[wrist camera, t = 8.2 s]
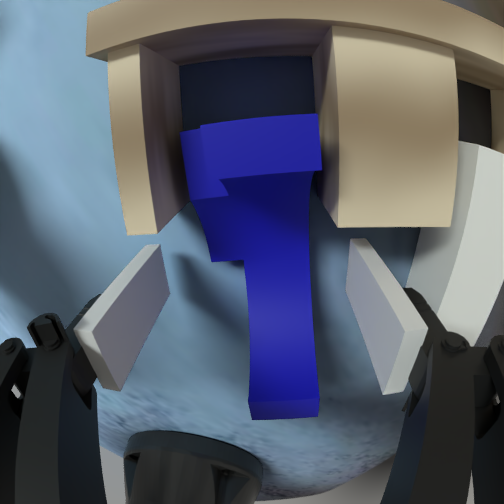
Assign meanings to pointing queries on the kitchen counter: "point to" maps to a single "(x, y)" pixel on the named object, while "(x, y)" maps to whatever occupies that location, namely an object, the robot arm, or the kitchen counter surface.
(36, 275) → the kitchen counter surface
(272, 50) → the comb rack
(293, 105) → the kitchen counter surface
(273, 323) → the blue stepped long piece
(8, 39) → the kitchen counter surface
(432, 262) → the white rectangular bar
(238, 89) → the kitchen counter surface
